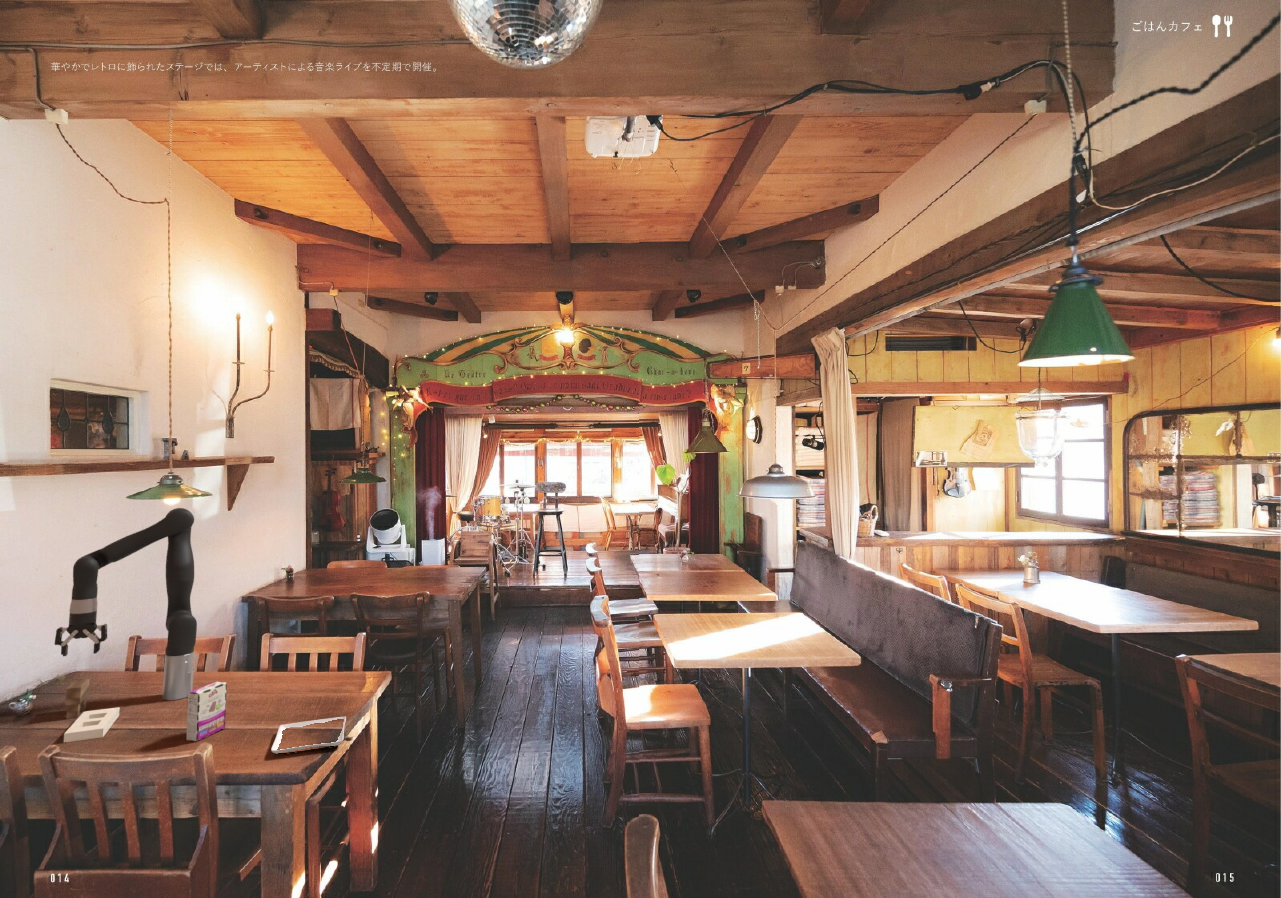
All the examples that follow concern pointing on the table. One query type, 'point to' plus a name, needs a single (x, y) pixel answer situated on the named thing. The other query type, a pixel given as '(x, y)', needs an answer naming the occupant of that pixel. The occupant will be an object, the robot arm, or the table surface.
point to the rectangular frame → (301, 724)
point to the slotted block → (91, 724)
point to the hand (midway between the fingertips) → (80, 654)
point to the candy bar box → (206, 710)
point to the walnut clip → (76, 697)
